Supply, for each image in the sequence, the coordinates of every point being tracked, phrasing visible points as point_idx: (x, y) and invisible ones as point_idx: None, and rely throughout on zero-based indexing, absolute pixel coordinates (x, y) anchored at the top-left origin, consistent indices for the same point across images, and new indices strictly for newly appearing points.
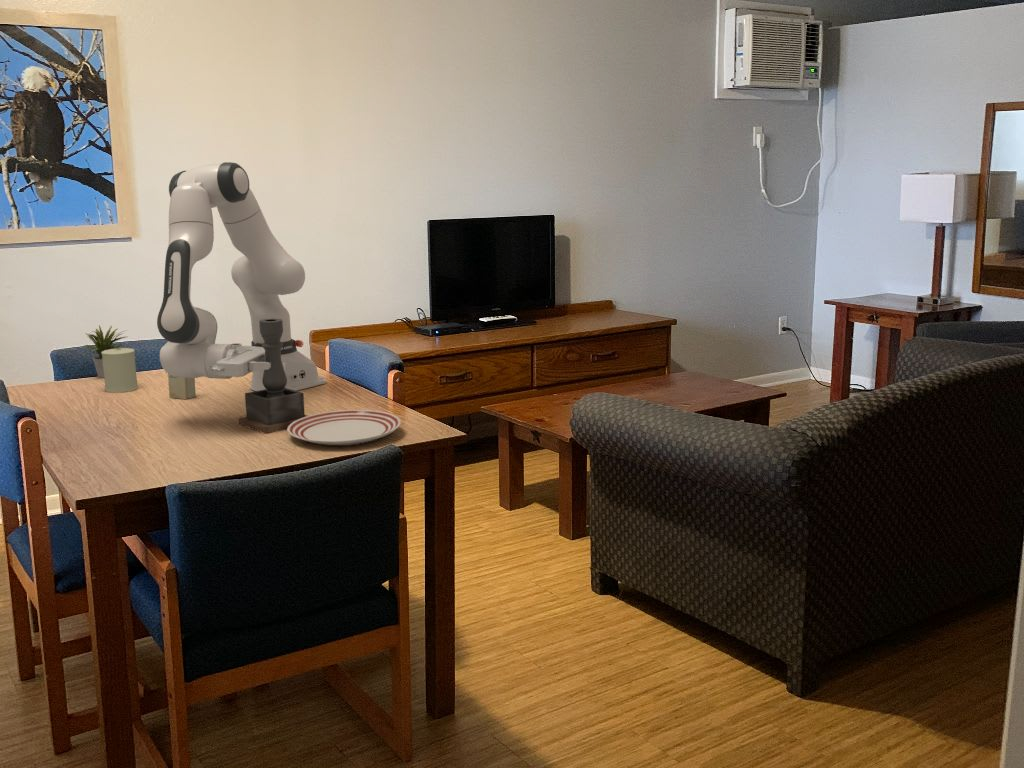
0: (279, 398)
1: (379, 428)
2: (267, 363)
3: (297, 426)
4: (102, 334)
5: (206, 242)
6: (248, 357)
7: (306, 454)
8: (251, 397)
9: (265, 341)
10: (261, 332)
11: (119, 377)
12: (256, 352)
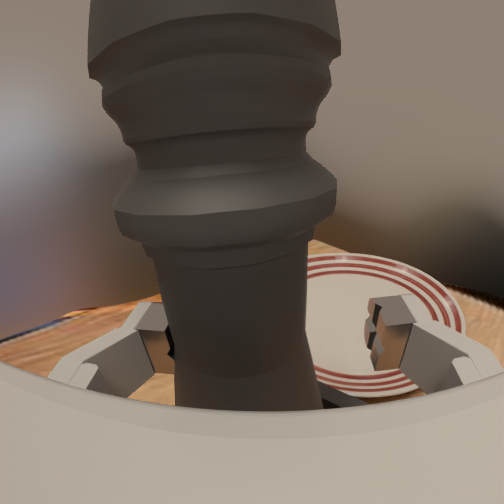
0: (361, 402)
1: (320, 282)
2: (413, 298)
3: (382, 385)
4: None
5: None
6: (464, 426)
7: (478, 324)
8: None
9: (289, 139)
10: (319, 10)
11: None
12: (51, 442)
